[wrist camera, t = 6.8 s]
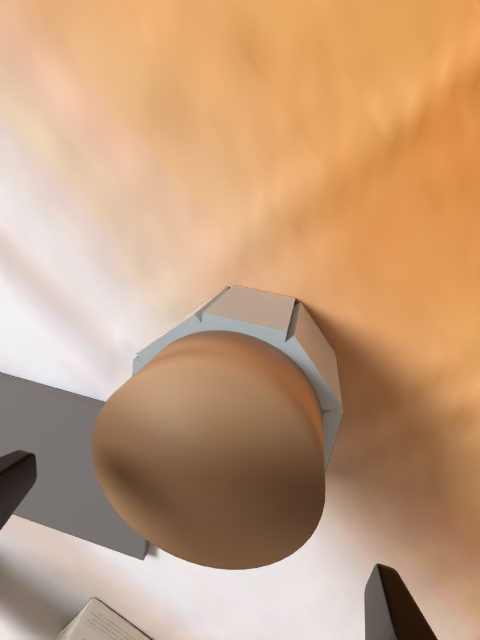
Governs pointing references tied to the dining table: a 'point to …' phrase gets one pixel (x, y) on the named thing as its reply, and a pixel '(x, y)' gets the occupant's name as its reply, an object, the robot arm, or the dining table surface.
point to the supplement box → (99, 625)
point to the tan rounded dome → (215, 451)
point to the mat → (62, 463)
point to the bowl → (274, 328)
